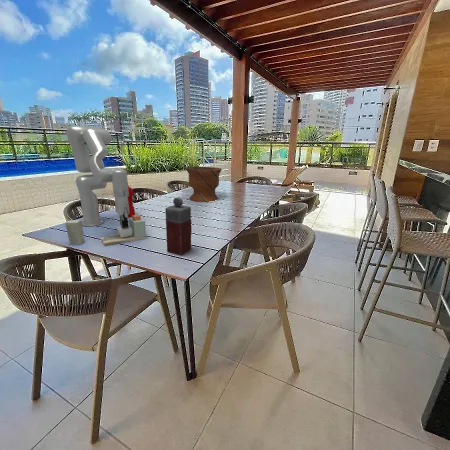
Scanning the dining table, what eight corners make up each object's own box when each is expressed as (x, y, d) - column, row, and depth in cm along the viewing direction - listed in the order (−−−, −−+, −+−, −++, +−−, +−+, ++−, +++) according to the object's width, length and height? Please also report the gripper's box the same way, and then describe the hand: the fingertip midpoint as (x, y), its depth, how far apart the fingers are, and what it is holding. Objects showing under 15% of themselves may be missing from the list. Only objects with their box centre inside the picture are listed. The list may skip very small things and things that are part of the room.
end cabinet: (129, 232, 146) (128, 217, 143) (139, 230, 149) (138, 216, 146) (135, 237, 138) (134, 222, 135) (146, 235, 142) (144, 220, 139)
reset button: (132, 220, 142) (132, 215, 141) (138, 219, 144) (138, 214, 143) (134, 222, 139) (134, 217, 138) (140, 221, 141) (140, 216, 140)
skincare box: (85, 241, 135) (81, 220, 131) (81, 244, 131) (77, 222, 127) (73, 241, 135) (69, 219, 131) (68, 244, 131) (64, 222, 127)
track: (100, 240, 137) (99, 234, 136) (140, 232, 150) (139, 227, 149) (105, 246, 130) (104, 240, 128) (146, 238, 142) (145, 232, 141)
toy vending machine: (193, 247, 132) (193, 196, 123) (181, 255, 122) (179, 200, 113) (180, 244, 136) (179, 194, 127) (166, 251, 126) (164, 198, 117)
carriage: (118, 234, 140) (115, 214, 137) (128, 232, 144) (127, 213, 140) (121, 238, 135) (119, 218, 131) (132, 236, 139) (131, 216, 135)
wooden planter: (200, 204, 220) (200, 171, 211) (179, 197, 244) (178, 167, 235) (228, 199, 243) (229, 169, 233) (206, 193, 267) (206, 166, 257)
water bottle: (132, 218, 176) (129, 183, 168) (118, 217, 178) (114, 182, 170) (139, 215, 184) (136, 181, 176) (125, 213, 186) (122, 180, 178)
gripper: (109, 191, 136) (113, 223, 142) (118, 197, 124) (121, 231, 129) (123, 190, 140) (126, 220, 146) (133, 195, 128) (136, 228, 134)
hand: (124, 225), depth 138 cm, fingers closed on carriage, 3 cm apart
